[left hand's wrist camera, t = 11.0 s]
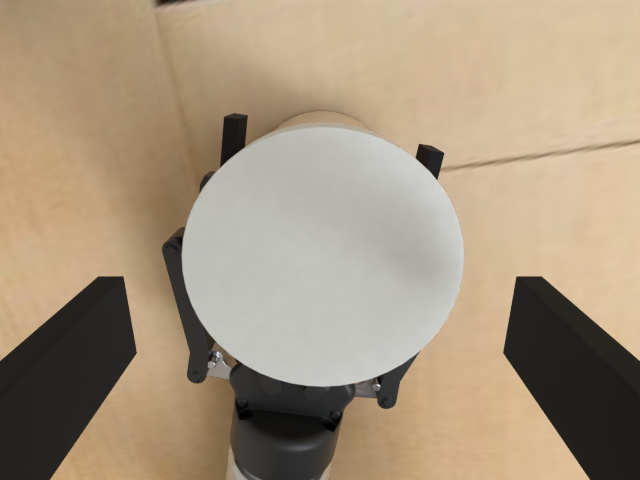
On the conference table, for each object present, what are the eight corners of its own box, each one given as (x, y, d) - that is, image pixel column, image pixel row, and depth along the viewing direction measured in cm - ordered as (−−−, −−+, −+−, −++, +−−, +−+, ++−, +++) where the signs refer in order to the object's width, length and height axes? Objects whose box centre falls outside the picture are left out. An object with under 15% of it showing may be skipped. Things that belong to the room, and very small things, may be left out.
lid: (501, 206, 17) (523, 221, 15) (364, 392, 20) (368, 423, 19) (267, 66, 15) (260, 64, 14) (157, 294, 19) (139, 318, 17)
